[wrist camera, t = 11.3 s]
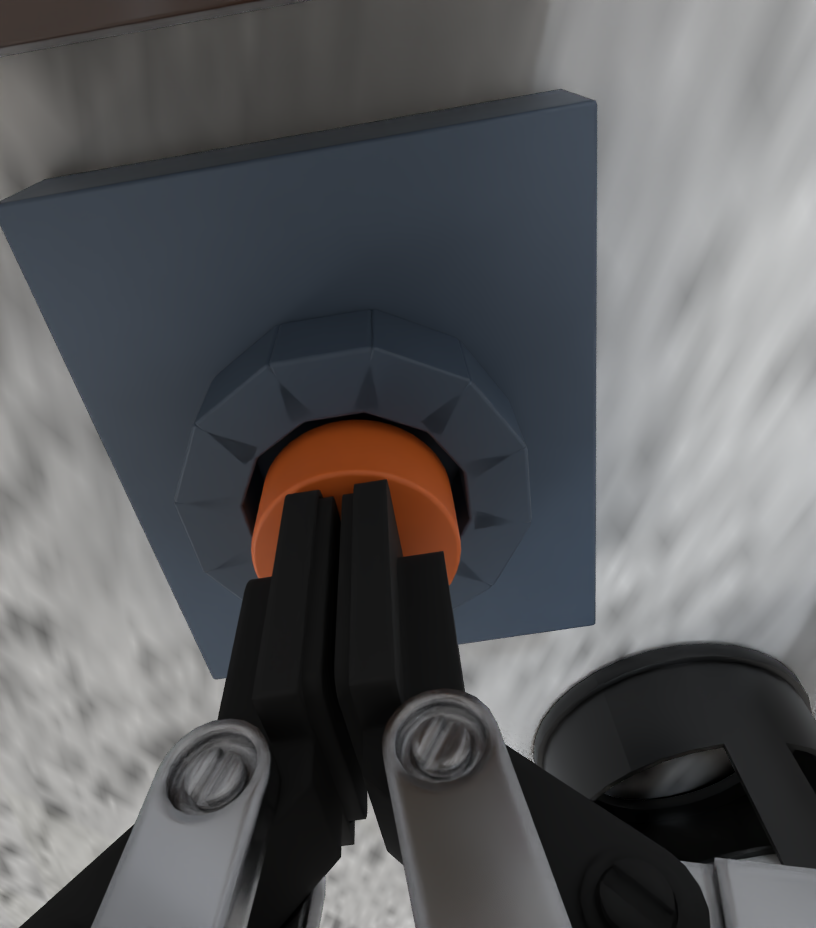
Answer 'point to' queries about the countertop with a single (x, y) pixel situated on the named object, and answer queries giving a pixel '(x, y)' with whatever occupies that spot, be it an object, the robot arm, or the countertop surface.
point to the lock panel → (104, 19)
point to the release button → (358, 461)
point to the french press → (695, 750)
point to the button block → (343, 337)
